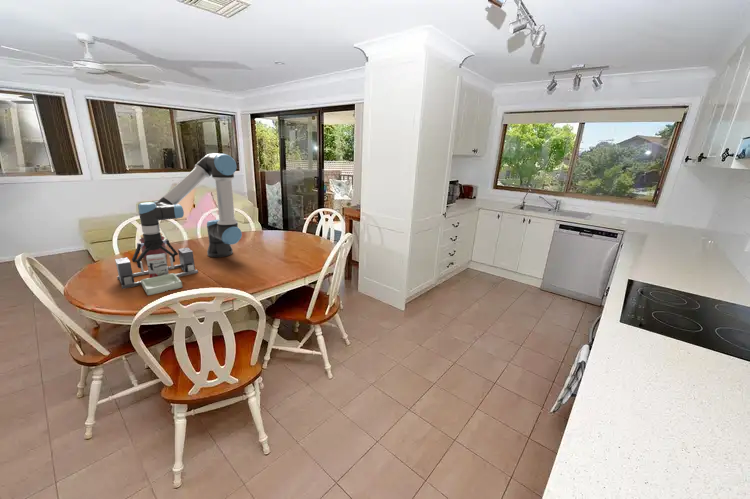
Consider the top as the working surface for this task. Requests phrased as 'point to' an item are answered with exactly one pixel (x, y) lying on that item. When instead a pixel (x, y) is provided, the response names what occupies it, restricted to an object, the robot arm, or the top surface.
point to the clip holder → (185, 264)
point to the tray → (161, 283)
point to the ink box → (156, 264)
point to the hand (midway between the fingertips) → (158, 270)
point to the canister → (153, 250)
